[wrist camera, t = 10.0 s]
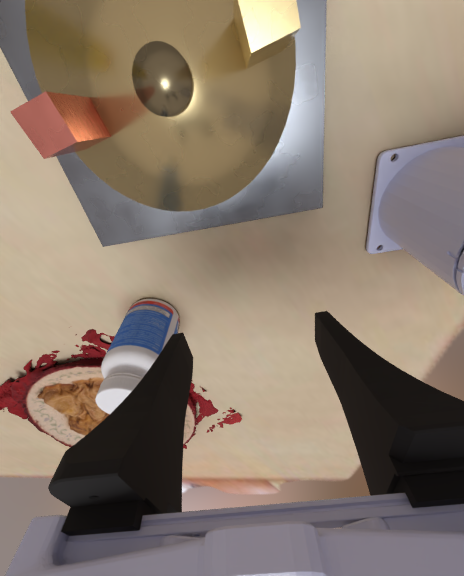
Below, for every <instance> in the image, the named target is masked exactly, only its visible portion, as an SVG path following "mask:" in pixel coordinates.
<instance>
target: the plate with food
mask: <svg viewBox="0 0 464 576" xmlns="http://www.w3.org/2000/svg"><path fill="white" fill-rule="evenodd" d="M103 334H104V333H100V334H97V333H96V330H94V329H91V330H88V331H87V332H86V334H85V335H84V336H83V337H81V338H82V341H88V342H89V343H93V344H95V345H97V346H98V347H97V346H93V345H89V346H86V345H82V347H80V348H81V350H83V354H77V355H71V356H72V357H71V358H73V357H74V358H77V357H83V358H84V359H80V360H79V361H74V362H70V363H65V364H61V365H55V364H57V363H58V362H57V361H53V359H55V358H56V357H57V356H56V355H57V354H56V355H55V354H49V355H47V354H45V355H42V357H40V358H39V360H38V361H37V366H35V370H33V371H32V370H31V364H32V363H31V361H32V360H31V361H30V362H29V363H28V364H27V365H26V366H25V367H24V370H26V372H27V375H26V376H25V377H22V378H17V379H16V380H15V381H14V382H11V380H8V381H7V382H5V383H4V384H3V385H2V386H1V387H0V410H2V409H3V410H4V408H5V407H8V408H7V409H8V411H9V412H10V413H12V414H15V415H18V416H19V417H21V418H22V419H27V418H28V417H29V418H28V421H30V422H31V423H32V424H33V425H34V426H36V428H37V429H38V430H39V431H41V432H44V433H46V434H48V435H50V436H51V437H53V438H54V439H55V440H56V441H59V442H61V443H62V444H64V445H65V446H69V447H72V446H73V445H74V444H76V443H77V442H78V441H80V440H81V439H82V438H83V437H85V436H86V435H87V434H88V433H89V432H91V431H92V430H93V429H94V428H95V427H96V426H98V425H99V424H100V423H101V422H102V421H103V420H104V419H105V418H106V417H107V416H109V415H110V414H108V413H106V412H104V411H103V410H101V409H100V408H99V407H98V406H97V404H96V400H95V399H96V395H97V393H98V391H99V388H100V385H101V383H102V382H103V380H104V377H103V375H102V371H101V365H102V361H103V359H104V358H102V357H105V355H106V351H105V350H103V349H101V348H105V349H107V350H108V349H109V347H110V345H109V344H105V343H103V342H101V341H100V339H99V338H100V337H101V335H103ZM76 335H77V334H76ZM104 335H106V334H104ZM106 336H108V335H106ZM109 337H110V339H111V341H113V340H114V338H115V337H114V336H109ZM76 346H77V347H79V346H78V345H76ZM100 347H101V348H100ZM81 350H79V351H81ZM52 352H53V353H58V352H60V351H52ZM86 353H88V354H86ZM51 355H52V356H54V357H50V356H51ZM92 357H93V358H92ZM51 358H52V359H51ZM87 358H88V359H87ZM89 358H90V359H89ZM96 358H97V359H96ZM67 360H70V359H67ZM42 363H47V364H46V365H45V366H44V367H41V368H40V365H41V364H42ZM191 381H192V380H191ZM192 387H193V388H192ZM193 389H194V384H193V383H191V387H190V393H189V398H188V404H187V410H186V417H185V426H184V440H183V448H185V449H187V446H186V445H185V444H186V443H188V442H189V440H190V439H191V437H193V436H194V435H195V431H196V430H195V429H196V427H195V425H197V424H198V423H199V422H200V421H201V420H202V419H203V418H204V417H205V416H207V417H208V416H210V415H212V414H215V413H217V412H218V409H216V408H214V407H213V404H212V402H211V400H208V401H207V400H205V399H204V397H202V396H200V395H199V393H196V392H194V391H193ZM202 390H203V389H202ZM204 391H205V390H203V392H204ZM197 400H198V401H197ZM197 402H199V406H200V408H199V412H200V415H199V416H198V417H197V418H196V416H195V415H196V410H195V409H196V407H195V406H196V403H197ZM230 409H232V408H230ZM227 411H229V412H231V413H234V409H233V410H227ZM3 412H4V411H3ZM224 413H226V412H224ZM231 413H230V414H231ZM222 414H223V413H222ZM230 414H229V415H227V416H226V418H223V419H224V421H222V422H219V423H217V424H219V425H220V427H222V428H223V424H222V423H226V424H234V423H236V422H240V421H241V420H242V418H241V416H240V415H239V413H235V414H232V415H230ZM202 416H203V418H202ZM228 416H231V417H229V418H227V417H228ZM231 418H232V419H231ZM217 420H220V419H217ZM196 422H197V423H196ZM211 428H212V429H214V428H215V425H212V427H210V430H211V432H212V431H213V430H212V429H211ZM207 432H209V430H207Z"/></svg>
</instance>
